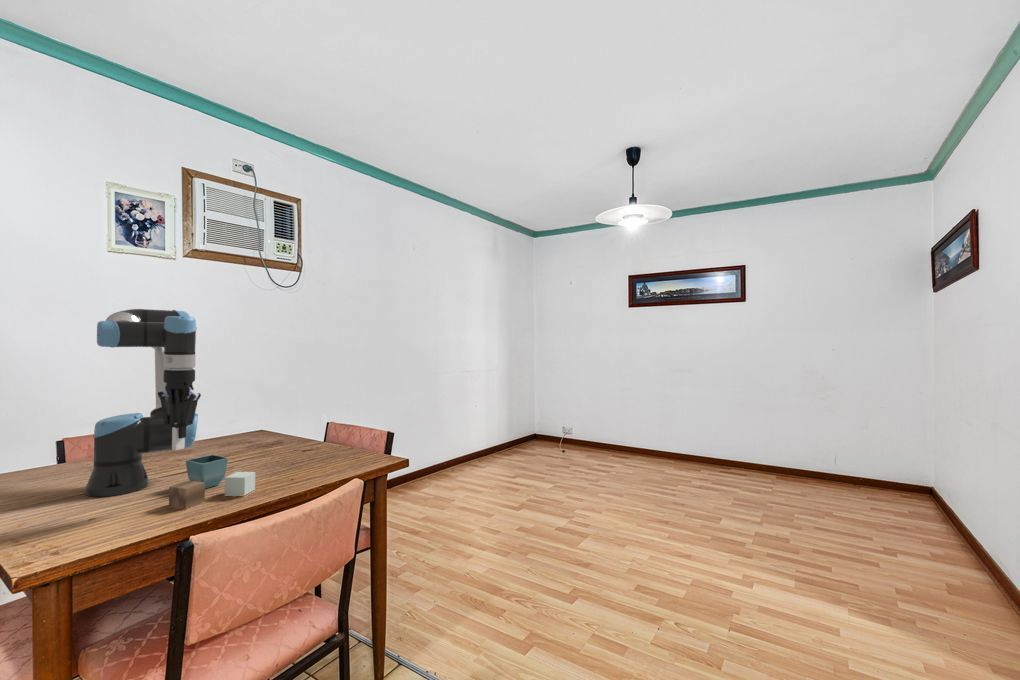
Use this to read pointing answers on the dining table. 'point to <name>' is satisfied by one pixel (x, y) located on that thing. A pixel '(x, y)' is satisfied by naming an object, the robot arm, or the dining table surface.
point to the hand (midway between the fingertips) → (178, 448)
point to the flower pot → (207, 469)
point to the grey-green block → (239, 483)
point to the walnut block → (186, 494)
